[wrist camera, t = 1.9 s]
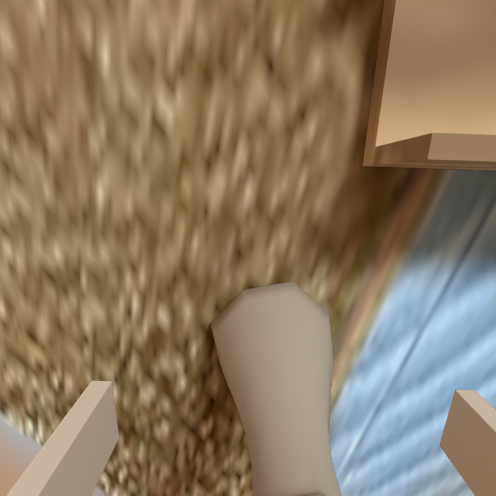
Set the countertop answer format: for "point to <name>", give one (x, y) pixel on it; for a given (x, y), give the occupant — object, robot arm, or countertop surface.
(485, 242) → the countertop surface
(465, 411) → the robot arm
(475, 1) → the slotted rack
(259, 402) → the flask
